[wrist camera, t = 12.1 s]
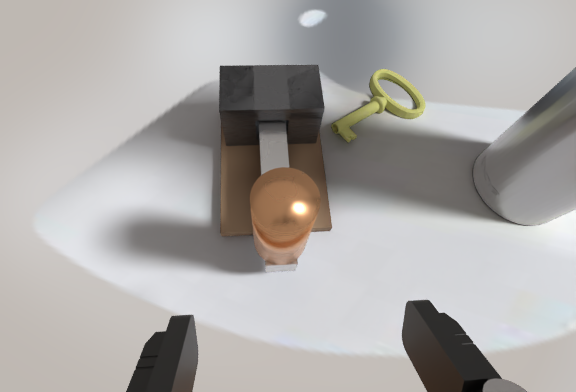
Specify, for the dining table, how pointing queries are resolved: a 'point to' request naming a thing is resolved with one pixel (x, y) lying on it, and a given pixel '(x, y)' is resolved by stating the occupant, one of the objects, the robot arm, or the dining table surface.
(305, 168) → the base board
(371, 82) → the key
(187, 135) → the dining table surface
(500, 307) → the dining table surface
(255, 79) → the block
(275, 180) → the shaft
